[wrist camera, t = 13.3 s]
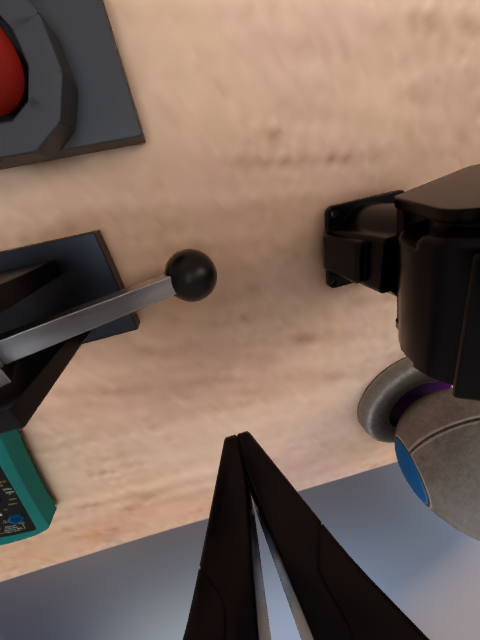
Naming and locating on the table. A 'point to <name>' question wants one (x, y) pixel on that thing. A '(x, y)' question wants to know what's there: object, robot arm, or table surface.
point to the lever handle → (110, 308)
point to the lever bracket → (52, 311)
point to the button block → (65, 83)
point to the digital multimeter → (21, 493)
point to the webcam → (429, 440)
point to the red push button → (10, 76)
